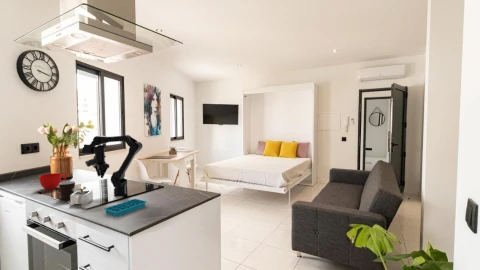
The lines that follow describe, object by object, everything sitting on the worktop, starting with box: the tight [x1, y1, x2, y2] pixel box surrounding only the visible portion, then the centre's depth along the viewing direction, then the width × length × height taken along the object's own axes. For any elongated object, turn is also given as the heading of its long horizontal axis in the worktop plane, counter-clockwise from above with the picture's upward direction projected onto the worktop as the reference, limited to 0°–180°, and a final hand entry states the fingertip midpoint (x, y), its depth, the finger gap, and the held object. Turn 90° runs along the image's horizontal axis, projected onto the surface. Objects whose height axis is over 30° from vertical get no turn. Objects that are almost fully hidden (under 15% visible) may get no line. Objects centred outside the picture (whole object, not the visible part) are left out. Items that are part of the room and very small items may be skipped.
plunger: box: [76, 186, 87, 194], centre depth 149 cm, size 7×7×8 cm
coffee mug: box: [58, 180, 76, 200], centre depth 159 cm, size 12×9×10 cm
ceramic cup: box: [38, 172, 68, 190], centre depth 182 cm, size 13×17×10 cm
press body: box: [69, 189, 94, 206], centre depth 148 cm, size 9×12×6 cm
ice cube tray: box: [103, 198, 147, 218], centre depth 136 cm, size 12×20×3 cm, turn 152°
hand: (100, 177), depth 164 cm, fingers open, 6 cm apart
